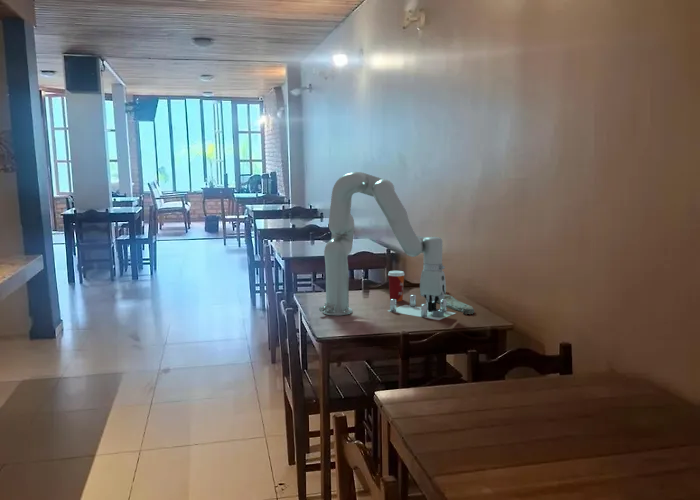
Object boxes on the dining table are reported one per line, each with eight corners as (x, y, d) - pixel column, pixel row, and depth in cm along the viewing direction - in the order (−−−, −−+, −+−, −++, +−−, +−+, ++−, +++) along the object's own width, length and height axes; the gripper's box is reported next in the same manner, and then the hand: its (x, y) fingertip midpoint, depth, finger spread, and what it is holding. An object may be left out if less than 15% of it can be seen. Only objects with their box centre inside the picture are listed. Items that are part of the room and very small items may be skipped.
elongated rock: (459, 319, 242) (480, 318, 246) (460, 307, 241) (481, 306, 245) (419, 298, 274) (438, 297, 278) (420, 287, 273) (439, 286, 277)
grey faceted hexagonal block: (442, 317, 235) (442, 311, 235) (429, 316, 237) (430, 310, 237) (445, 315, 239) (445, 309, 239) (433, 313, 241) (433, 308, 241)
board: (439, 322, 232) (439, 319, 232) (386, 313, 247) (386, 310, 247) (456, 315, 243) (456, 313, 243) (405, 306, 258) (405, 304, 258)
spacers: (429, 318, 234) (429, 306, 233) (388, 311, 246) (388, 299, 246) (447, 311, 245) (447, 299, 245) (407, 304, 258) (408, 293, 257)
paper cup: (405, 304, 264) (405, 273, 262) (388, 304, 264) (388, 273, 262) (404, 300, 272) (404, 270, 270) (387, 300, 272) (387, 270, 270)
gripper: (453, 268, 237) (452, 312, 240) (421, 264, 247) (421, 307, 249) (444, 270, 232) (443, 316, 234) (412, 266, 241) (411, 310, 243)
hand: (432, 311), depth 242 cm, fingers closed
